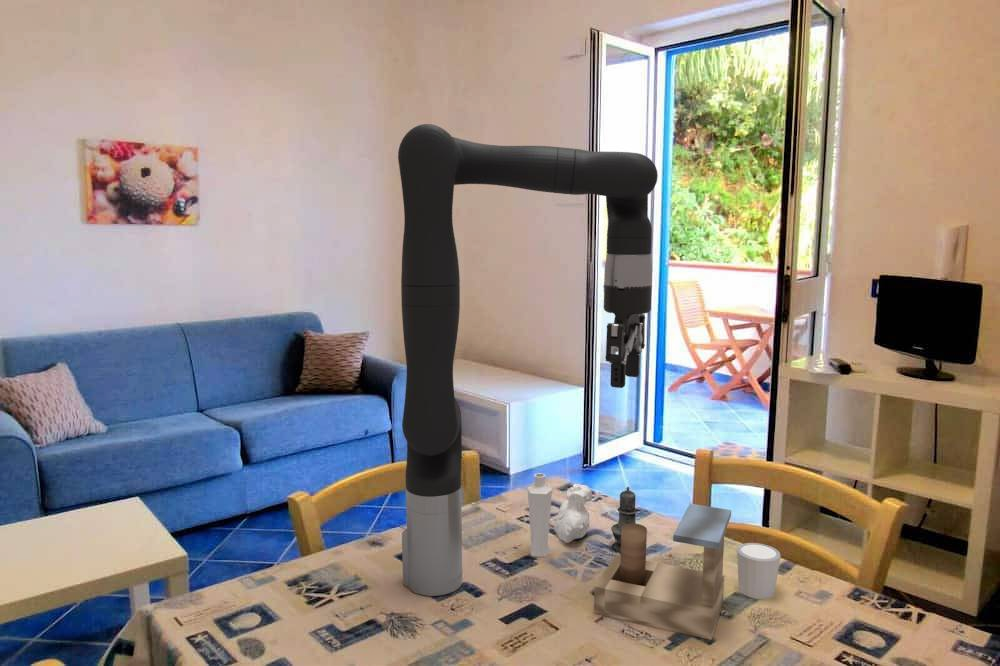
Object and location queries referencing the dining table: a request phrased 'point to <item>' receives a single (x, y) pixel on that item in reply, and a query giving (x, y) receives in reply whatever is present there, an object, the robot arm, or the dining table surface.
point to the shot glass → (757, 570)
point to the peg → (633, 554)
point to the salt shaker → (624, 516)
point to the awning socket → (673, 582)
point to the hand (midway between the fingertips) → (625, 381)
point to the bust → (573, 514)
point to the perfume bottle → (539, 516)
